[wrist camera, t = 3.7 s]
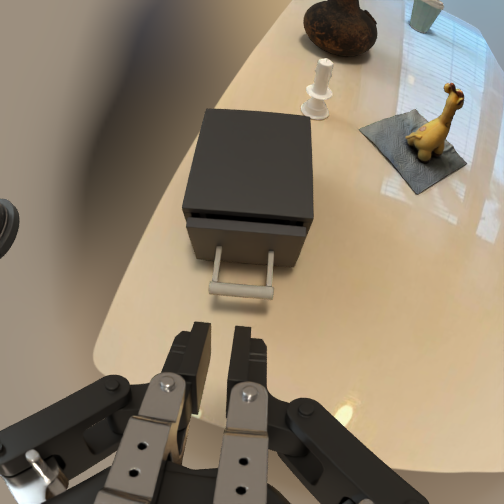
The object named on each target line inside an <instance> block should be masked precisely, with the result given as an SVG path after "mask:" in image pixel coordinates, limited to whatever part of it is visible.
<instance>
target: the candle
mask: <svg viewBox="0 0 504 504" xmlns="http://www.w3.org/2000/svg"><path fill="white" fill-rule="evenodd" d="M333 65H334V64H333V62H331V61H330V60H329V59H327V58H325V59H320V60H319V61H318V63H317V67H316V69H315V72H316V74H315V79H314V84H311V85H309V86H307V88H306V91H307V93H308V94H309V95H310V96H311V97H312V98H311V99H308V100H307V101H306V102H305V103H303V104H302V105H301V111H302V113H303V114H304V115H305V116H310V118H311V119H316V120H321V119H325V118H326V117H328V115H329V110H328V108H327V107H326V104H325V102H324V100H327V99H329V98H331V97H332V91H331V90H330V89H329V88H328V85H329V81H330V78H331V77H332V69H333Z"/></svg>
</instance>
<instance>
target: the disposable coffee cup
mask: <svg viewBox="0 0 504 504" xmlns="http://www.w3.org/2000/svg"><path fill="white" fill-rule="evenodd" d="M443 7H444V6H443V3H442V2H441V1H439V0H414V4H413V10H412V15H411V20H410V26H411V27H412V28H413V29H415V30H417V31H419V32H421V33H426V32H427V31H428V30H429V28H430V27H431V25H432V24H433V22H434V21H435V19H436V18H437V16H438V15H439V13H440V12H441V10H443Z"/></svg>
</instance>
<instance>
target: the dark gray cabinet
mask: <svg viewBox="0 0 504 504" xmlns="http://www.w3.org/2000/svg"><path fill="white" fill-rule="evenodd" d="M182 210H183V213H184V216H185V219H186V223H187V218H188V217H193V218H200V215H199V213H207V214H220V215H233V216H245V217H257V218H269V219H280V220H291V221H297V222H296V226H301V227H306V236H307V234H308V231H309V229H310V226H311V224H312V221H313V169H312V143H311V122H310V116H302V115H293V114H283V113H273V112H261V111H247V110H230V109H206V112H205V115H204V119H203V122H202V126H201V130H200V134H199V138H198V142H197V145H196V149H195V153H194V157H193V162H192V166H191V170H190V174H189V178H188V183H187V187H186V191H185V196H184V200H183V205H182ZM305 239H306V238H305ZM303 244H304V243H303ZM301 249H302V248H301ZM299 254H300V253H299Z"/></svg>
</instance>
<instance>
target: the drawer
mask: <svg viewBox="0 0 504 504" xmlns="http://www.w3.org/2000/svg"><path fill="white" fill-rule="evenodd" d="M199 215H200V218H193V217H188V218H187V224H186V228H187V231H188V234H189V237H190V240H191V243H192V246H193V249H194V252H195V255H196V258H197V259H203V260H214V261H215V262H214V270H213V277H212V282H210V284H209V294H213V295H223V296H234V297H245V298H257V299H269V300H272V299H273V293H274V288H273V287H272V276H273V266H284V267H294V266H295V263H296V261H297V258H298V256H299V253H300V251H301V248H302V246H303V243H304V241H305V238H306V227H301V226H296V222H297V221H291V220H280V219H269V218H257V217H245V216H233V215H220V214H207V213H199ZM220 261H225V262H237V263H248V264H260V265H268V267H267V282H266V286H254V285H243V284H232V283H221V282H218V277H219V269H220Z"/></svg>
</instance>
